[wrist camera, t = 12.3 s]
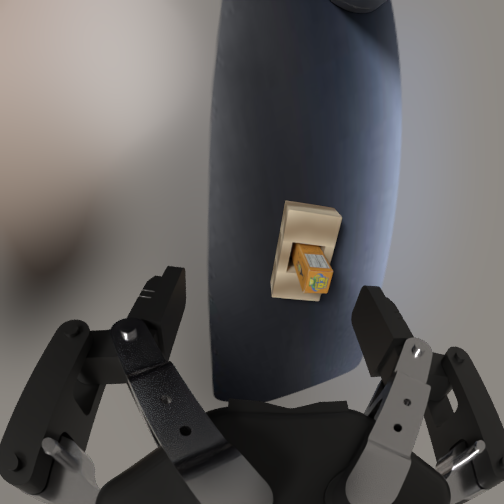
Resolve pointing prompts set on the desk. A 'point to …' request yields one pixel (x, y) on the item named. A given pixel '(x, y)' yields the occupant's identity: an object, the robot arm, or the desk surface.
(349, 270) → the desk surface
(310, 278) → the supplement box
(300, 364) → the desk surface
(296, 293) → the socket block
